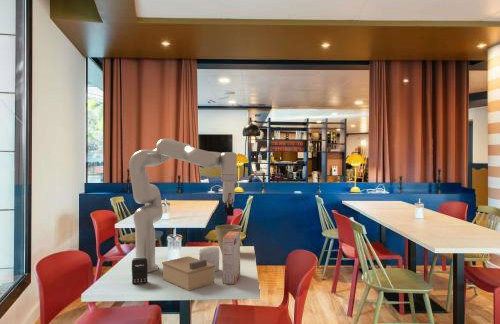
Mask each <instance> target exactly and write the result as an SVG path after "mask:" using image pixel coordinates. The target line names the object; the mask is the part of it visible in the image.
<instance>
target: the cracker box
mask: <svg viewBox="0 0 500 324" xmlns="http://www.w3.org/2000/svg"><path fill="white" fill-rule="evenodd" d="M221 255H222V260H221V261H222V263H221V264H222V284H223V285H224V284H225V285H235V284H236V283H237V281H238V279H239V277H240V275H241V232H233V231H230V232H228V233H227V234H226V235H225V236H224V237H223V238H222V252H221Z"/></svg>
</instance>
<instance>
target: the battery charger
mask: <svg viewBox="0 0 500 324" xmlns="http://www.w3.org/2000/svg"><path fill="white" fill-rule="evenodd" d="M148 273H149V272H148V259H147V258H146V257H136V256H135V257H134V258H132V260H131V283H132V285H143V284H147V283H148V282H149V281H148V280H149V279H148V276H149V274H148Z"/></svg>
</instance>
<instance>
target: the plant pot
mask: <svg viewBox="0 0 500 324" xmlns="http://www.w3.org/2000/svg"><path fill="white" fill-rule="evenodd" d="M214 229H215V233H216V239H217V242H218V246H219V247H218V248H219V250H220V252H221V253H222V238H223V237H224V236H225V235H226V234H227V233H228V232H230V231H233V232H240V233H241V231H242V230H241V229H242V226H241V225H238V224H221V225H216V226H215V228H214Z"/></svg>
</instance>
